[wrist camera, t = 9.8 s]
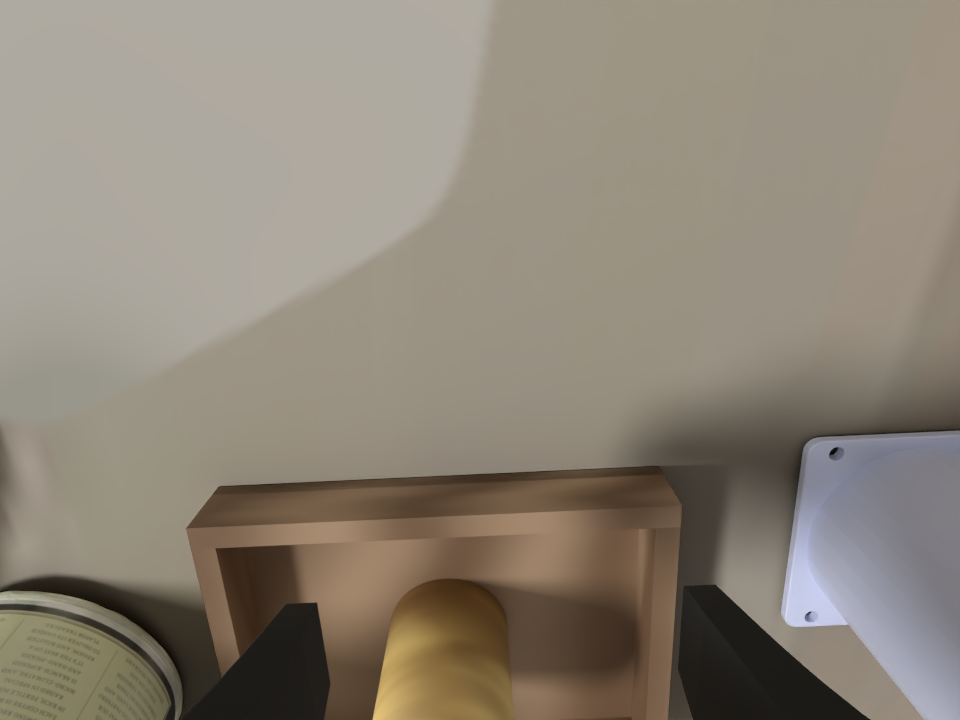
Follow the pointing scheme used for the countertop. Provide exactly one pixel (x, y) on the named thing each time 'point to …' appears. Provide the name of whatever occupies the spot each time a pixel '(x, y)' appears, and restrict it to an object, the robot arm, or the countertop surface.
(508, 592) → the tray
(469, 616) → the tan wooden cylinder
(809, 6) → the countertop surface
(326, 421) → the countertop surface
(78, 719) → the coffee can
